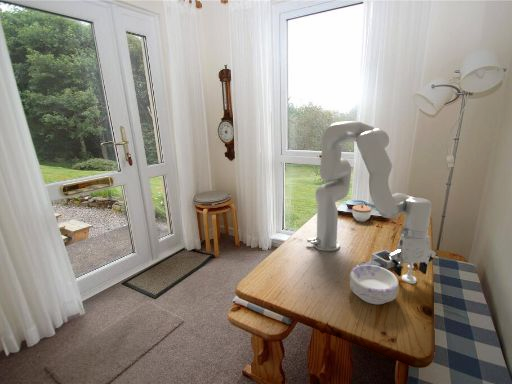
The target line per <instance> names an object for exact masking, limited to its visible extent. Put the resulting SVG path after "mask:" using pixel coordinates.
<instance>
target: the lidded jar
mask: <svg viewBox="0 0 512 384" xmlns="http://www.w3.org/2000/svg"><path fill="white" fill-rule="evenodd" d="M371 214H372V207H371V206H368V205H366V204H365V205H364V204H356V205H353V206H352V216H353V218H354V219H355V220H356V221H358V222H361V223H363V222H367V221H368V220H369V219H370V217H371Z"/></svg>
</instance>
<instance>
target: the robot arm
mask: <svg viewBox="0 0 512 384" xmlns="http://www.w3.org/2000/svg"><path fill="white" fill-rule="evenodd" d="M351 142H355V143H356V146H357V149H358V151H359V154H360V156H361V158H362V161H363V162H364V165H365V167H366V170H367V172H368V174H369V176H368V187H369V188H368V189H369V195H370V198H371V200H372V203H373V205H374V207H375V210H376V211H377V212H378V214H379V215H380V216H381V217H384V218H385V219H393V218H395V217H398V216H399V215H402V214H404V222H403V223H404V224H403V229H400V231H399V233H400V234H401V235H400V237H399V240H398V245H397V248H396V250H395V251H392V252H391V254H389V257H390V259H391V261H392V262H393V263H394V264H395V266H394V269H393V271H394V273H395V274H396V275H397V277H402V269H403V267H402V265H403V264H409V263H414V264H418V263H419V264H418V271H419V272H420V273H422V274H423V275H427V270H428V265H430V262H432V261H433V259H434V257H435V256H436V255H437V253H436V251H434V250H432V249H431V238H430V235H428V234H429V227H430V220H431V213H432V201H430V200H429V199H427V198H423V197H414V196H412V195H408V194H405V193H402V192H395V193H393V194H392V193H391V189H390V186H389V177H390V174H391V171H392V168H393V164H392V161H391V160H390V157H389V155H388V153H387V150H386V148H387V146H388V145H389V143H390V137H389V135H388V133H387V132H386V131H385V130H383V129H381V128H378V127H375V126H372V125H369V124H367V123H365V122H361V121H357V120H355V121H354V120H351V121H339V122H334V123H332V124H331V125H328V126H327V127H326V128H325V130H324V131H323V133H322V136H321V155H320V156H321V157H320V158H321V159H320V169H319V172H320V173H319V175H320V178H321V179H322V181H324V182H326V183H324V184H321V185H320V186H318V187H317V189H316V190H315V194H314V195H315V196H314V197H315V201H316V216H317V217H316V234H315V235H314V237H313V238H306V241H307V243H310V244H311V245H313V247H314V248H315V249H317V250H319V251H322V252H335V251H337V250H339V249H340V248H341V243H340V242H339V241H338V220H339V218H338V217H339V214H338V207H337V205H336V203H337V202H339V201H342V200H344V199H345V198H346V197H347V196H348V195H349V191H350V186H351V177H352V167H351V163H350V162H349V161H348V160H347V159H345V158H342V147H341V144H342V143H343V144H344V143H351ZM396 256H397V258H396V259H395V257H396ZM390 259H389V260H390ZM399 260H401V261H400V262H399V263H398V261H399Z"/></svg>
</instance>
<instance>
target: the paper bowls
mask: <svg viewBox="0 0 512 384" xmlns="http://www.w3.org/2000/svg"><path fill="white" fill-rule="evenodd" d="M355 266H356V265H355ZM355 266H354V267H353V268H352V269H351V270H350V275H349V286H350V289H351V291H352V292H353V293H354V295H356V296H357V297H359V299H361V300H362V301H364V302H366V303H368V304H372V305H383V304H385V303H390V302H392V301H394V300H395V299H396V298H397V296H398V291H399V283H400V282H399V278H397V277H398V276H396V275H395V274H394V273H393V272H392V271H391V270H389V269H386V268H384V267H379V266H375V265H360V266H356V267H355Z"/></svg>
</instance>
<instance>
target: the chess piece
mask: <svg viewBox="0 0 512 384" xmlns="http://www.w3.org/2000/svg"><path fill="white" fill-rule="evenodd" d="M414 264H415V263H408V265H407V268H408V271H407V273H406V274H402V275H401V279H402V281H403V282H405V283H407V284H410V285H411V284H413V285H414V284H416V283H417V281H418V280H417V278H416V277H415V275H414V276H413V269H415V267H414Z"/></svg>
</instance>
